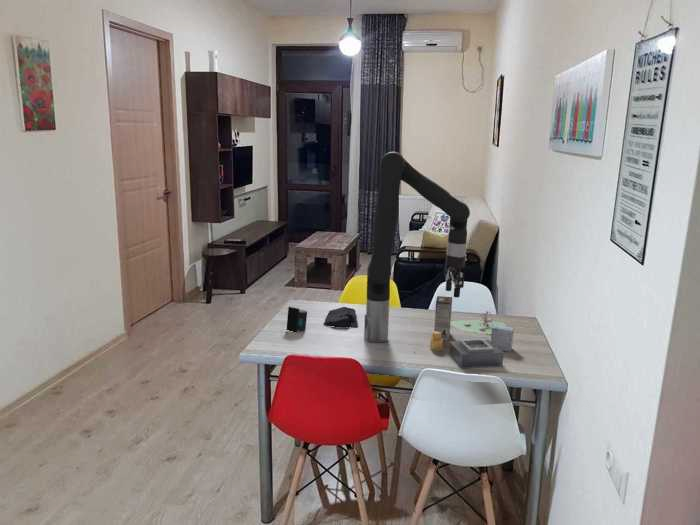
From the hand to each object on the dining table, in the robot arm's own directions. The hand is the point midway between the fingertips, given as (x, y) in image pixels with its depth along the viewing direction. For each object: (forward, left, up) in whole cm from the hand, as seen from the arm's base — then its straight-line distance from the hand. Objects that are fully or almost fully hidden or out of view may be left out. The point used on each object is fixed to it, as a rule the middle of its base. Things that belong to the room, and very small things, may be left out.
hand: (452, 293), depth 220 cm
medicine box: (+19, -7, -21) cm, 29 cm away
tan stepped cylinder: (-7, -4, -21) cm, 22 cm away
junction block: (+4, -17, -21) cm, 27 cm away
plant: (+20, +19, -22) cm, 35 cm away
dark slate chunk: (-38, +34, -22) cm, 55 cm away
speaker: (-59, +23, -21) cm, 67 cm away
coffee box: (0, +9, -21) cm, 23 cm away
